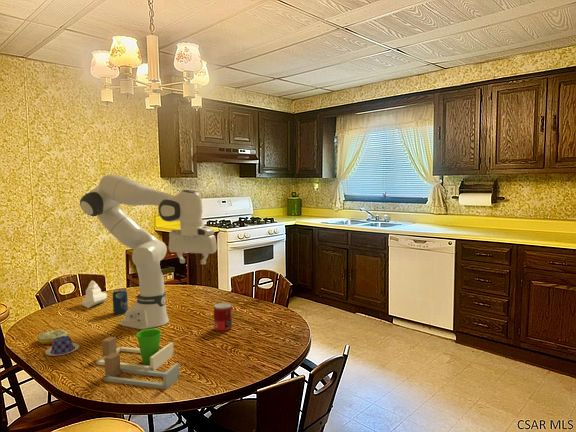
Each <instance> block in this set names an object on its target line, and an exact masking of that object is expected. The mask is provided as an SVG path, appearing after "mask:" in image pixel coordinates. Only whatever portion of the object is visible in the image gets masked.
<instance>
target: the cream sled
mask: <svg viewBox="0 0 576 432" xmlns="http://www.w3.org/2000/svg"><path fill="white" fill-rule="evenodd" d="M101 346H102V347H101V348H102V357H100V358H99V359H97V360H95V365H98V366H105V361H104V358H105V357H107V356H108V355H110V354H112V353H116V354H119V353H121V352H126V353H135V354H141V352H140V348H137V347H136V348H135V347H127V346H118V347H117V338H116V337H115V336H114V337H113V336H108V337H106V338H104V339H102V340H101ZM173 356H174V342H169V343H168V344H166V345H165V346H164V347H161V349H159V351H158V352H157V353H155V354H154V355H152V356H151V357H150V365H146V364H137V363H127V362H121V361H120V367H126V368H134V369H142V370H150V371H157V369H158V368H160V367H161V366H162V365H163V364H164V363H166V362H167V361H169V360H170V359H171V358H172V357H173Z"/></svg>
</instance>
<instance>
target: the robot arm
mask: <svg viewBox="0 0 576 432" xmlns="http://www.w3.org/2000/svg"><path fill="white" fill-rule="evenodd" d="M79 200H80V201H79V205H80V208H81V210H82V211H83V212H84V213H85V214H86V215H87V216H89V217H97V219H98V220H99V222H100V223H101V224H102V226H103V227H104V228H105V229H106V230H107V231H108V232H109V233H110V234H111V235H112V236H113V237H115V238H116V240H117V241H118V242H119V243H120V244H122V245H123V246H126V247H128V248H130V249H132V250H134V251H133V252H132V254H131V260H132V262H133V265H134V266H135V268H136V272H137V275H138V281H139V282H138V284H139V294H138V295H136V296H135V298H134V300H136V302H134V304H132V305H131V306H130V307H128V310H127V311H126V313H125V316H124V318H123V319H122V320H121V321H120V322H119V325H120V326H123V327H127V328H132V329H138V330H146V329H152V328H157V327H161V326H164V325H166V324H167V323H169V322H170V319H169V316H168V311H167V306H166V291H165V278H164V277H165V276H164V274H163V272H162V269H161V265H160V264H161V261H162V260H163V259H164V258H165V257H166V255H167V252H168V251H169V252H170V253H176V255H177V257H178V260H179V263H180V264H185V263H186V258H184V256H183V254H202V256H203V257H202V259H200V265H206V264H207V259H208V257H209V255H211V254H215V253H216V252H217V250H218V245H217V239H216V236H215V235H214V234H215V229H214V228H213V227H209V226H207V225H205V224H204V223H203V222H204V221H203V218H202V216H203V215H202V214H203V201H202V195H201V193H200V192H198V191H196V190H193V189H182V190H180V191H179V192H178V193H177V194H176V195H172V194H169V193H166V192H163V191H160V190H157V189H154V188H151V187H149V186H148V185H144V184H142V183H140V182H138V181H135V180H133V179H131V178H129V177H126V176H123V175H117V174H111V173H110V174H109V173H108V174H106V175H103V176H102V177H101V178H100V181H99V184H98V185H97V186H96V187H94V188H92V189H91V190H90V191H89V192H86V193H85V194H84V195H83V196H82V197H80V199H79ZM120 204H122V205H126V206H132V207H136V206H137V207H138V206H157V207H158V209H157V211H158V215H159V217H160V218H161V219H162V221H165V222H169V223H173V222H179V221H180V222H179V224H180V229H172V230H170V231H169V234H168V237H169V239H168V248H167V245H166V243H165V242H164V241H162V240H159V239H158V238H157V237H155V236H154V235H152V234H151V233H150V232H148V231H146V230H145V229H144V228H142V227H141V226H140V225H139V224H137V222H135V220H134V219H132V218H131V217H130V216H129V215H128V214H127V213H126V212H125V211H123V210H122V209H121V205H120Z"/></svg>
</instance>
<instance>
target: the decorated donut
mask: <svg viewBox="0 0 576 432" xmlns="http://www.w3.org/2000/svg"><path fill="white" fill-rule="evenodd" d="M62 336H68V332H67V330H65V329H61V328H59V329H53V330H52V329H51V330H48V331H44V332H42V333H40V334H38V336H37V341H38V343H40V344H41V345H44V344H48V345H53V341H54V339H55V338H58V337H62Z"/></svg>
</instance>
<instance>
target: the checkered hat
mask: <svg viewBox="0 0 576 432" xmlns="http://www.w3.org/2000/svg"><path fill="white" fill-rule="evenodd" d="M73 346H75V349H74V347H73ZM79 348H80V344H78V343H74V342H72V339H71V337H70V336H68V335H67V336H62V337H58V338H55V339H54V341H53V344H51V347H49V348H47V349H46V350H45V352H44V355H47V356H57V357H58V356H63V355H68V354H70V353H72V352H75V351H77V350H78V349H79Z"/></svg>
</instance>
